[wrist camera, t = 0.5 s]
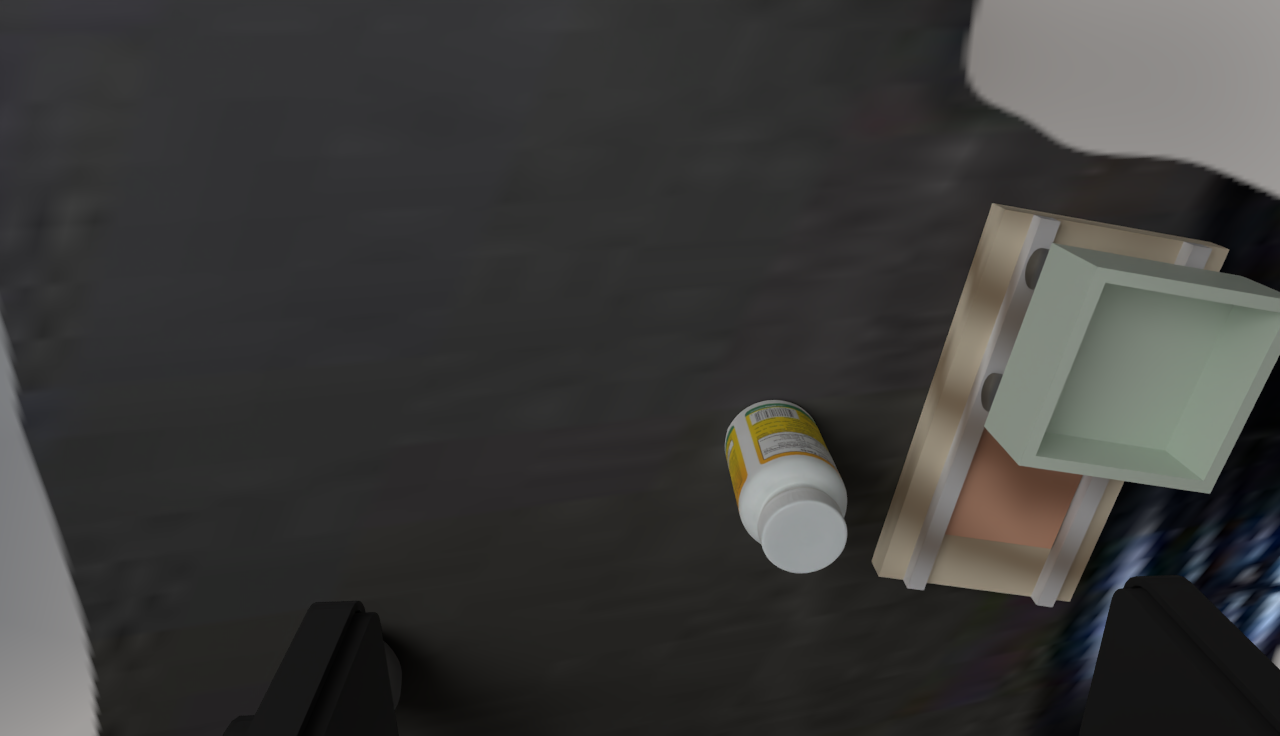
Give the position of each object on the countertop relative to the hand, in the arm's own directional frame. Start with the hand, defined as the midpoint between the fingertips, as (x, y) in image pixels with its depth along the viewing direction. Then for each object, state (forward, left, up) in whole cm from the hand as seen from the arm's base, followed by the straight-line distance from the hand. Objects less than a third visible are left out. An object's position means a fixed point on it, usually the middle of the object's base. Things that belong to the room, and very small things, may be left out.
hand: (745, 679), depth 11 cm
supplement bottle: (+13, +9, -34) cm, 38 cm away
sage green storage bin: (+4, +24, -32) cm, 40 cm away
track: (+9, +23, -34) cm, 42 cm away
